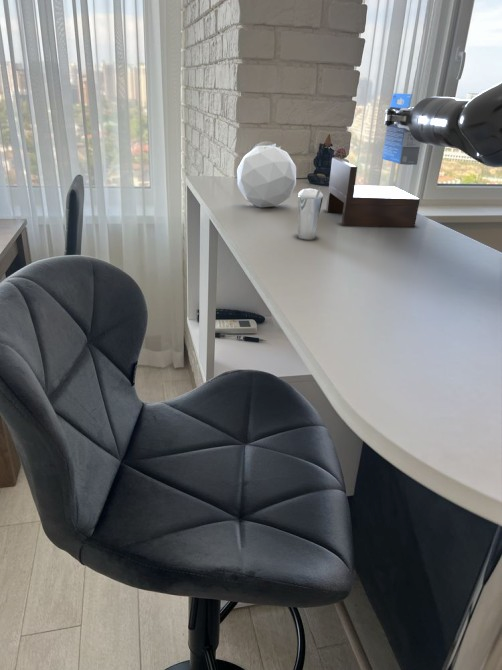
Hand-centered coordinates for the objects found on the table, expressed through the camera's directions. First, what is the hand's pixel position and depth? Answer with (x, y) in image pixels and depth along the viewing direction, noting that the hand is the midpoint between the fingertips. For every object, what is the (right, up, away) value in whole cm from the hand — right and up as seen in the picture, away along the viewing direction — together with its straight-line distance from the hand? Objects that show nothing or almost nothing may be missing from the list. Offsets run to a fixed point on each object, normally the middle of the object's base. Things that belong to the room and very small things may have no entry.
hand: (400, 116), depth 100 cm
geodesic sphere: (-26, -12, +21) cm, 36 cm away
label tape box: (0, -9, +1) cm, 9 cm away
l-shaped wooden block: (-3, -17, +14) cm, 22 cm away
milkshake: (-19, -25, -3) cm, 31 cm away
